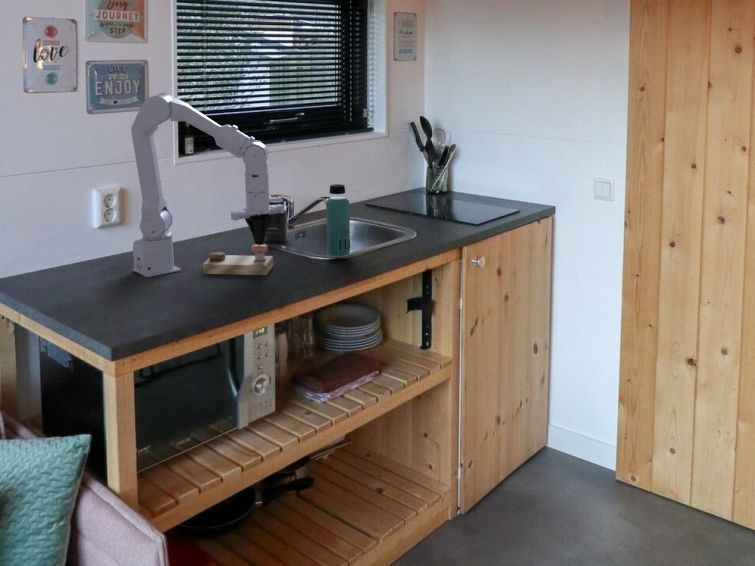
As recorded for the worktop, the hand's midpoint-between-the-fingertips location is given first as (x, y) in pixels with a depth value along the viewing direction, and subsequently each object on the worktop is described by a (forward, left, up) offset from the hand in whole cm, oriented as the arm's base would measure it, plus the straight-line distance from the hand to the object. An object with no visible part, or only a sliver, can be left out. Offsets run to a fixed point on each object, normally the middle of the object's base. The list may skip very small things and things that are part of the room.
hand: (259, 244), depth 216 cm
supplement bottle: (+20, +23, -7) cm, 31 cm away
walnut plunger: (-8, +8, -6) cm, 13 cm away
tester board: (-4, +4, -7) cm, 9 cm away
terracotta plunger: (0, 0, -4) cm, 4 cm away
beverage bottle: (+22, -4, -7) cm, 24 cm away
